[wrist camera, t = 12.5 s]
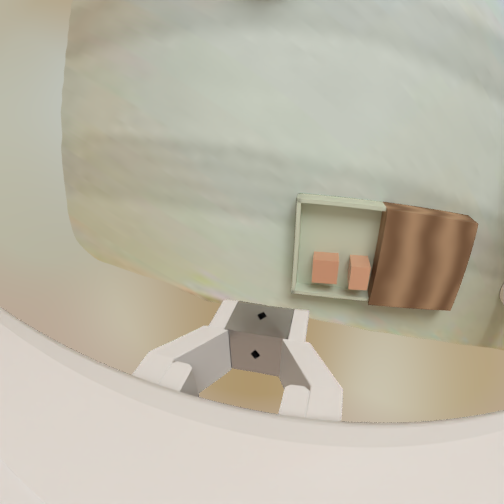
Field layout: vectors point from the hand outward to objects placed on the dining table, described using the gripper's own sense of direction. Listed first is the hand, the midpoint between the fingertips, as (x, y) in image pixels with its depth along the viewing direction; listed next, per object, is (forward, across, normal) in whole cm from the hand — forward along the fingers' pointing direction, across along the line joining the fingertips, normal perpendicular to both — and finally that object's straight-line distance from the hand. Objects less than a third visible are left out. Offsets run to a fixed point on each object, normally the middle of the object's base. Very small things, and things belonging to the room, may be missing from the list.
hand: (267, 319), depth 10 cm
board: (+34, -19, +12) cm, 41 cm away
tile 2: (+32, -7, +15) cm, 36 cm away
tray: (+34, -4, +12) cm, 36 cm away
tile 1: (+31, -3, +15) cm, 34 cm away
